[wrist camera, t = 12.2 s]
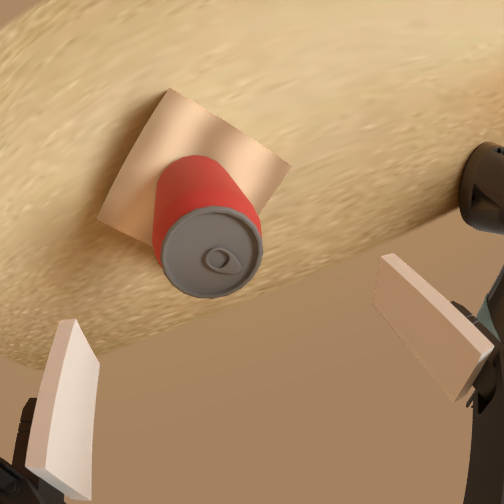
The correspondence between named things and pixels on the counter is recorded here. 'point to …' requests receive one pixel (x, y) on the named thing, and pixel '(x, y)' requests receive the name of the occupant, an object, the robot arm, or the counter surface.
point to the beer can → (205, 229)
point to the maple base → (181, 145)
